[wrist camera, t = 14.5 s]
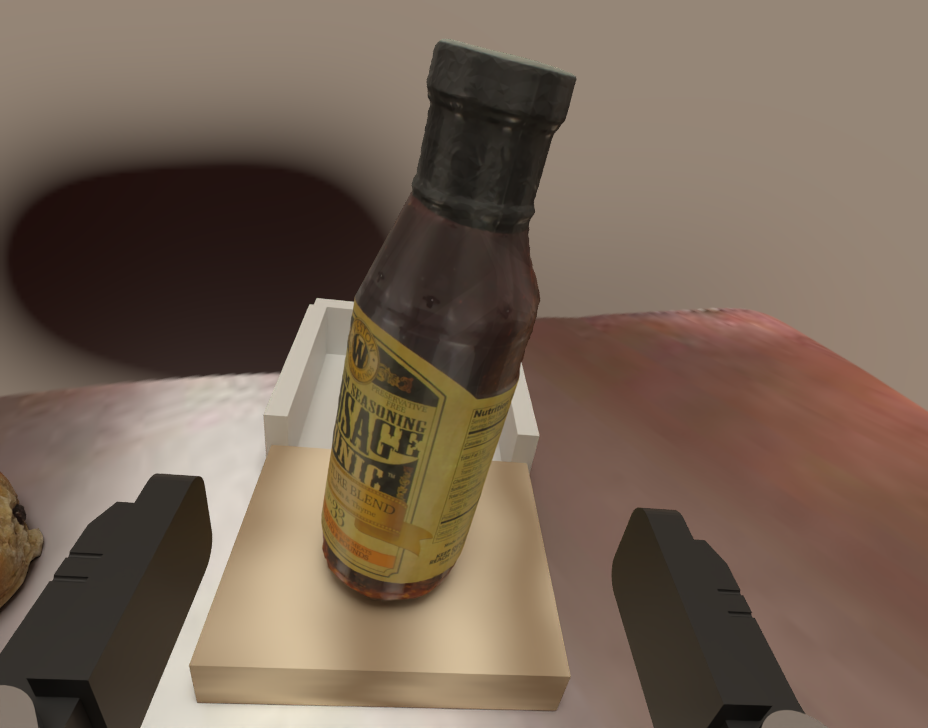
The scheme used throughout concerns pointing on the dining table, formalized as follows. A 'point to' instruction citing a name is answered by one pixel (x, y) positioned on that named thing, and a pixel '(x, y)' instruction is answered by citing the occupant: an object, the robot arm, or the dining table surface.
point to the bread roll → (14, 542)
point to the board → (381, 610)
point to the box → (319, 380)
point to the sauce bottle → (441, 327)
